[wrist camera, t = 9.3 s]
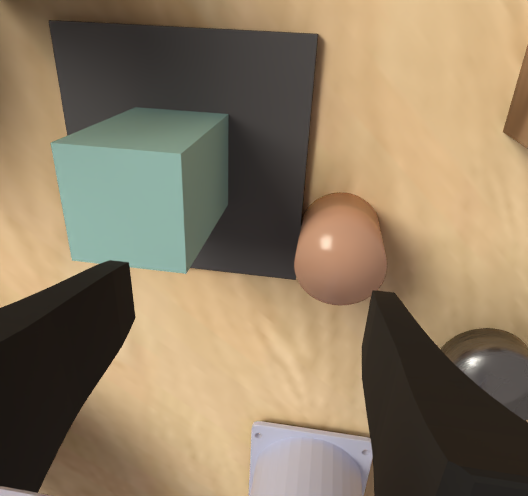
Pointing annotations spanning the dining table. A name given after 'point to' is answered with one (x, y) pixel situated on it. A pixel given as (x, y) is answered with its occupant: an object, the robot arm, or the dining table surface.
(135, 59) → the black mat
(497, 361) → the metal puck
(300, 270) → the peach domed capsule
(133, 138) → the teal block
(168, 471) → the dining table surface
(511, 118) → the walnut block
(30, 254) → the dining table surface
